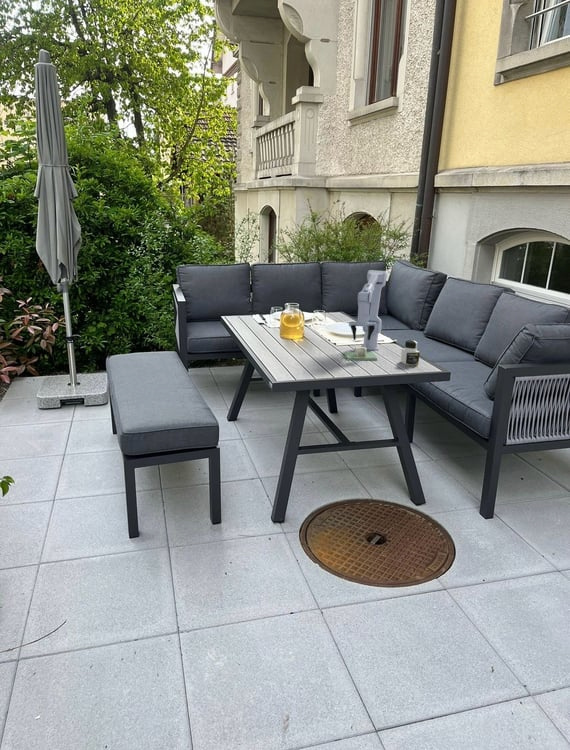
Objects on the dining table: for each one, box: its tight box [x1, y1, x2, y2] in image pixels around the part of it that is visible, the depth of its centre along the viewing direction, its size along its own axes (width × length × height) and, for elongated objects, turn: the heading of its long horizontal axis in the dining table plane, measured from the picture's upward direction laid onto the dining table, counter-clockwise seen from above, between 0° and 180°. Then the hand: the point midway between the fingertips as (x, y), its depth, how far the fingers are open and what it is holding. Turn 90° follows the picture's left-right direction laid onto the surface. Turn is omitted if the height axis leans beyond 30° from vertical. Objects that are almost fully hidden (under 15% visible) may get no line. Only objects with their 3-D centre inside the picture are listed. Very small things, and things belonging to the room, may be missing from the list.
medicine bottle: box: [400, 339, 421, 366], centre depth 295 cm, size 7×7×12 cm
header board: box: [342, 350, 378, 361], centre depth 304 cm, size 12×16×4 cm
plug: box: [354, 346, 368, 356], centre depth 303 cm, size 5×6×4 cm
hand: (361, 339), depth 301 cm, fingers open, 7 cm apart
